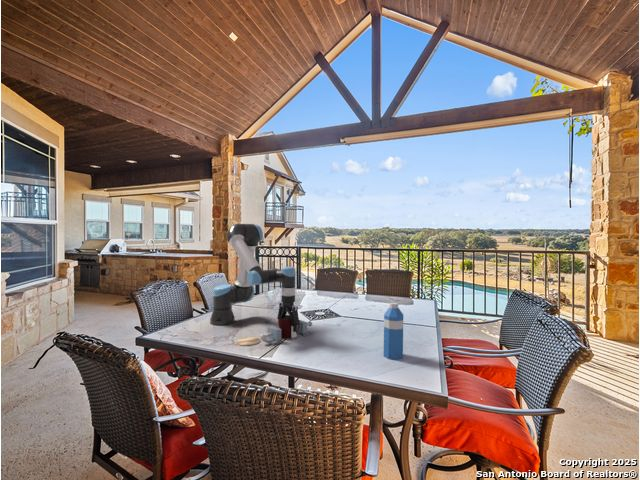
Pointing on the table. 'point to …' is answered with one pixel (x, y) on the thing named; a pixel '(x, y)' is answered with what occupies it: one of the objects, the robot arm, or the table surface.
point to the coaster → (248, 341)
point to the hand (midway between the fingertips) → (287, 335)
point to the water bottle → (393, 332)
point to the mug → (285, 326)
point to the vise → (275, 333)
